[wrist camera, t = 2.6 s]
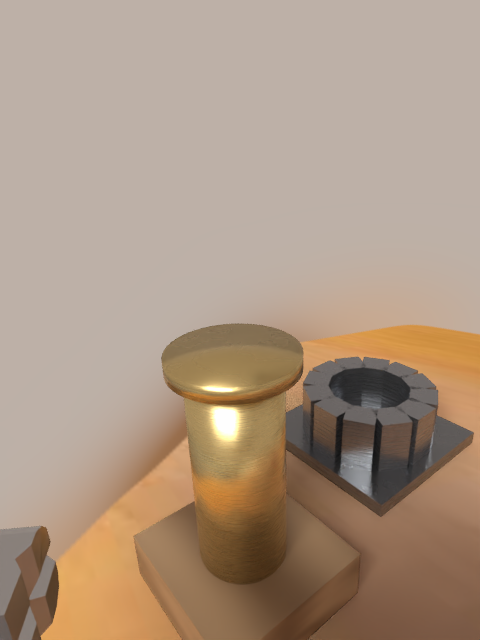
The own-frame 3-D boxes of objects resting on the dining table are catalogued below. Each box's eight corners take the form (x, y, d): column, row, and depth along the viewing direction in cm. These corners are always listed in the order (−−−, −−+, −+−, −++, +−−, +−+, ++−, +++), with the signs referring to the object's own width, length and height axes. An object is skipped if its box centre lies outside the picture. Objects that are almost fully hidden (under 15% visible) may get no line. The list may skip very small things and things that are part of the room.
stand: (255, 500, 32) (254, 466, 31) (357, 592, 25) (360, 554, 24) (139, 573, 27) (133, 536, 26) (228, 711, 20) (224, 669, 19)
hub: (354, 386, 46) (357, 341, 44) (471, 442, 37) (481, 389, 35) (264, 433, 39) (263, 383, 37) (380, 516, 30) (386, 456, 28)
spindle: (251, 486, 29) (244, 314, 25) (325, 551, 24) (333, 352, 20) (164, 538, 26) (136, 349, 21) (231, 626, 21) (214, 406, 16)
